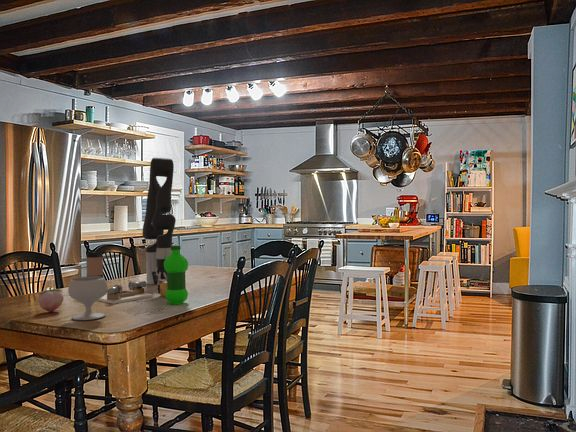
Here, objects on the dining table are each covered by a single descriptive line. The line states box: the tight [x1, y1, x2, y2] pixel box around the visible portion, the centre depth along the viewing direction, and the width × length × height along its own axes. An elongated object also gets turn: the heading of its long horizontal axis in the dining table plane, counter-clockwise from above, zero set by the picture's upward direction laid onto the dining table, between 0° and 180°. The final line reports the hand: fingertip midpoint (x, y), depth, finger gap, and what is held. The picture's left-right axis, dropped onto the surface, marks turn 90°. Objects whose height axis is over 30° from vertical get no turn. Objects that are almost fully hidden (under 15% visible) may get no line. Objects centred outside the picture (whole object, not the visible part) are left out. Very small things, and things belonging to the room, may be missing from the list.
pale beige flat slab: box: [97, 290, 154, 304], centre depth 239 cm, size 20×18×3 cm
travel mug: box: [85, 250, 104, 277], centre depth 257 cm, size 8×8×20 cm
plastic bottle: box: [164, 244, 189, 306], centre depth 224 cm, size 10×10×25 cm
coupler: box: [159, 282, 167, 298], centre depth 243 cm, size 5×5×6 cm
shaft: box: [127, 280, 148, 294], centre depth 245 cm, size 8×5×6 cm, turn 139°
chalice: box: [67, 276, 109, 321], centre depth 198 cm, size 14×14×15 cm
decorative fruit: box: [38, 287, 64, 313], centre depth 210 cm, size 9×8×10 cm
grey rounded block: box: [106, 284, 123, 300], centre depth 231 cm, size 8×5×6 cm, turn 174°
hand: (165, 293), depth 243 cm, fingers closed on coupler, 5 cm apart
